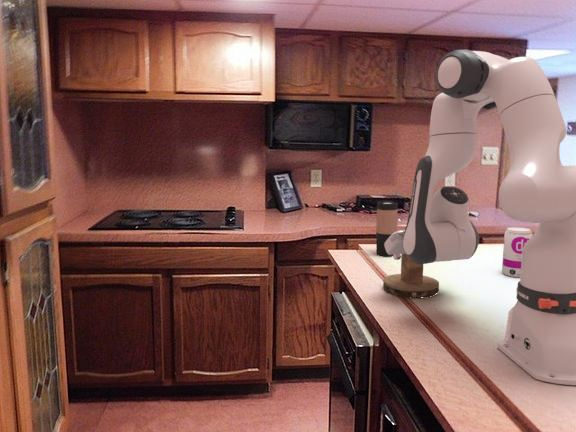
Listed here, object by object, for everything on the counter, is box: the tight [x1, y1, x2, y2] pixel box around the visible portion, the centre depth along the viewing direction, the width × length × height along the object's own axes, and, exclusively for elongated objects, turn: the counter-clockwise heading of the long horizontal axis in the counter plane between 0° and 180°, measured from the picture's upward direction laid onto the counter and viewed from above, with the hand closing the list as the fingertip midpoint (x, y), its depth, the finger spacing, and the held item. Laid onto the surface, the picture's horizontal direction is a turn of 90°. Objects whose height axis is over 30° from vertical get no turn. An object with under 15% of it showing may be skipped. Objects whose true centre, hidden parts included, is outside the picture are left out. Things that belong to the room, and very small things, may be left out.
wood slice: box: [382, 273, 440, 299], centre depth 148 cm, size 16×16×3 cm
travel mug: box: [375, 200, 399, 258], centre depth 188 cm, size 8×8×20 cm
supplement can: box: [501, 226, 534, 279], centre depth 161 cm, size 8×8×15 cm
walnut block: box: [400, 254, 424, 284], centre depth 147 cm, size 5×5×10 cm
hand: (410, 256), depth 147 cm, fingers open, 8 cm apart
